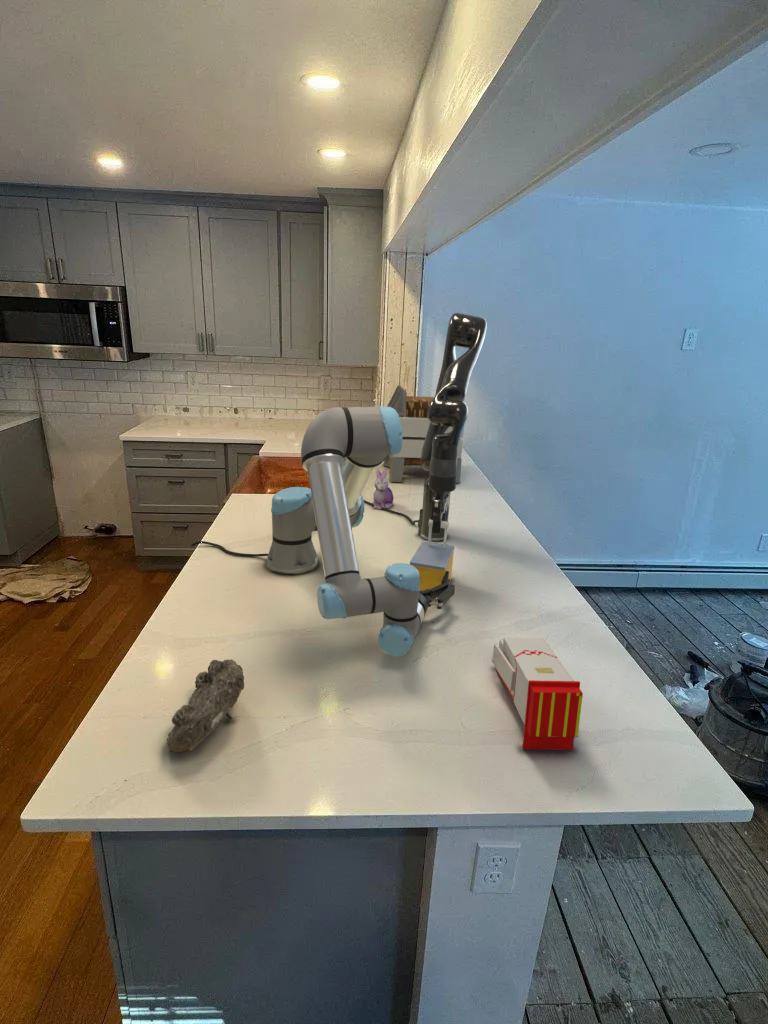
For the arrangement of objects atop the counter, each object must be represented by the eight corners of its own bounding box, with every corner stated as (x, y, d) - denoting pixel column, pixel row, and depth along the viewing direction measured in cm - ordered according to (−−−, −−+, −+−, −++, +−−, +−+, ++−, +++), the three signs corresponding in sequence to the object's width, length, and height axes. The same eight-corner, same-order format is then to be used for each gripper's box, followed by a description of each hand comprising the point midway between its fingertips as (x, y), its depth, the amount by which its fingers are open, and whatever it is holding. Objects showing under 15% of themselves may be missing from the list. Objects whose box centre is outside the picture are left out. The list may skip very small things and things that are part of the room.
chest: (419, 573, 170) (421, 544, 167) (451, 579, 168) (453, 549, 165) (407, 596, 157) (409, 565, 154) (441, 602, 154) (444, 570, 151)
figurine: (377, 511, 221) (379, 474, 216) (366, 503, 229) (367, 467, 224) (399, 508, 225) (401, 471, 220) (387, 500, 233) (388, 465, 228)
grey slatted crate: (382, 463, 289) (386, 382, 275) (445, 464, 293) (451, 384, 279) (390, 482, 257) (394, 392, 243) (460, 483, 261) (468, 394, 247)
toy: (540, 621, 128) (592, 689, 99) (535, 675, 131) (584, 757, 102) (487, 620, 128) (523, 687, 98) (483, 674, 130) (517, 756, 101)
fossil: (192, 660, 117) (244, 628, 112) (224, 691, 120) (276, 661, 115) (142, 746, 98) (202, 712, 93) (182, 779, 101) (242, 748, 96)
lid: (422, 543, 168) (424, 515, 165) (454, 548, 166) (457, 520, 163) (409, 564, 154) (411, 534, 151) (444, 570, 151) (447, 539, 148)
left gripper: (365, 616, 140) (389, 578, 160) (454, 633, 135) (467, 591, 155) (366, 589, 138) (390, 554, 158) (456, 605, 132) (470, 566, 152)
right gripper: (452, 481, 149) (447, 539, 155) (460, 467, 162) (455, 521, 168) (424, 477, 151) (420, 535, 157) (434, 464, 164) (430, 518, 170)
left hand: (428, 572), depth 156 cm, fingers closed on chest, 10 cm apart
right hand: (438, 528), depth 162 cm, fingers open, 7 cm apart
